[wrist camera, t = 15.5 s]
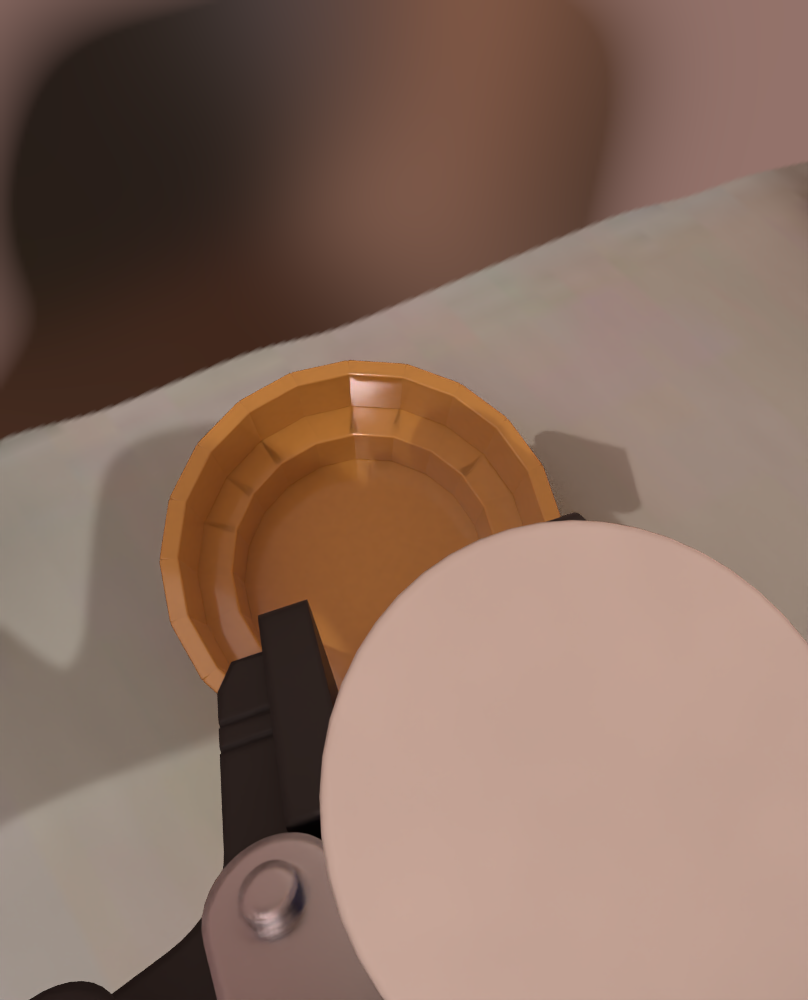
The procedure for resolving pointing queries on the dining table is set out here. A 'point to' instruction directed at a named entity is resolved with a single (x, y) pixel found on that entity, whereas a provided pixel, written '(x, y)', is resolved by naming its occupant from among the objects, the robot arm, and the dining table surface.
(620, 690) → the vial
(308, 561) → the bowl
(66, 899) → the dining table surface
